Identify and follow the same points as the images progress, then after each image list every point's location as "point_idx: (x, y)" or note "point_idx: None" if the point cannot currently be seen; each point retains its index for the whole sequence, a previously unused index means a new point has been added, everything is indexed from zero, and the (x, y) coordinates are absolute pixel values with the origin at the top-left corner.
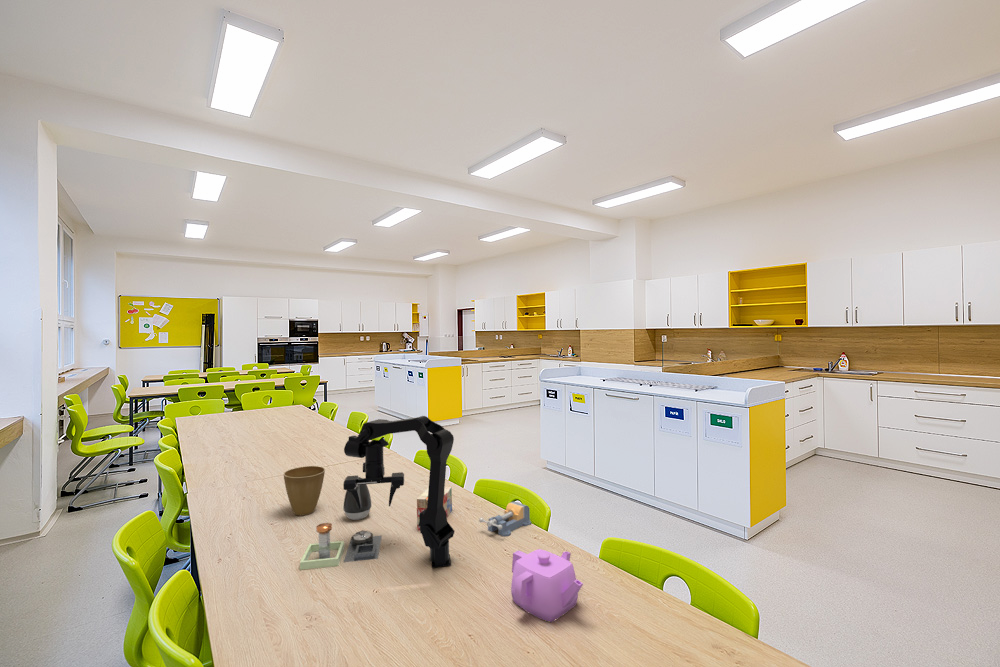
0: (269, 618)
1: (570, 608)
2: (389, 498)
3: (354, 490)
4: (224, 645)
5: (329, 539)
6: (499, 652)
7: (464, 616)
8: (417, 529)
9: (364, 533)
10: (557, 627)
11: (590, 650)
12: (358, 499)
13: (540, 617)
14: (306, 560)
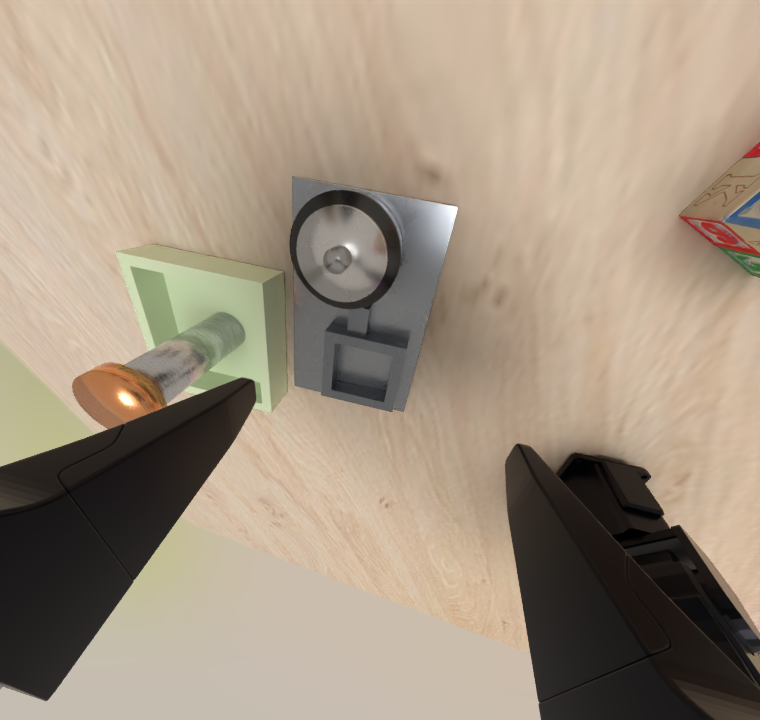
0: (203, 485)
1: None
2: (520, 582)
3: (13, 689)
4: None
5: (194, 377)
6: (522, 646)
7: (519, 605)
8: (697, 219)
9: (352, 249)
10: None
11: None
12: (174, 511)
13: None
14: (171, 337)
